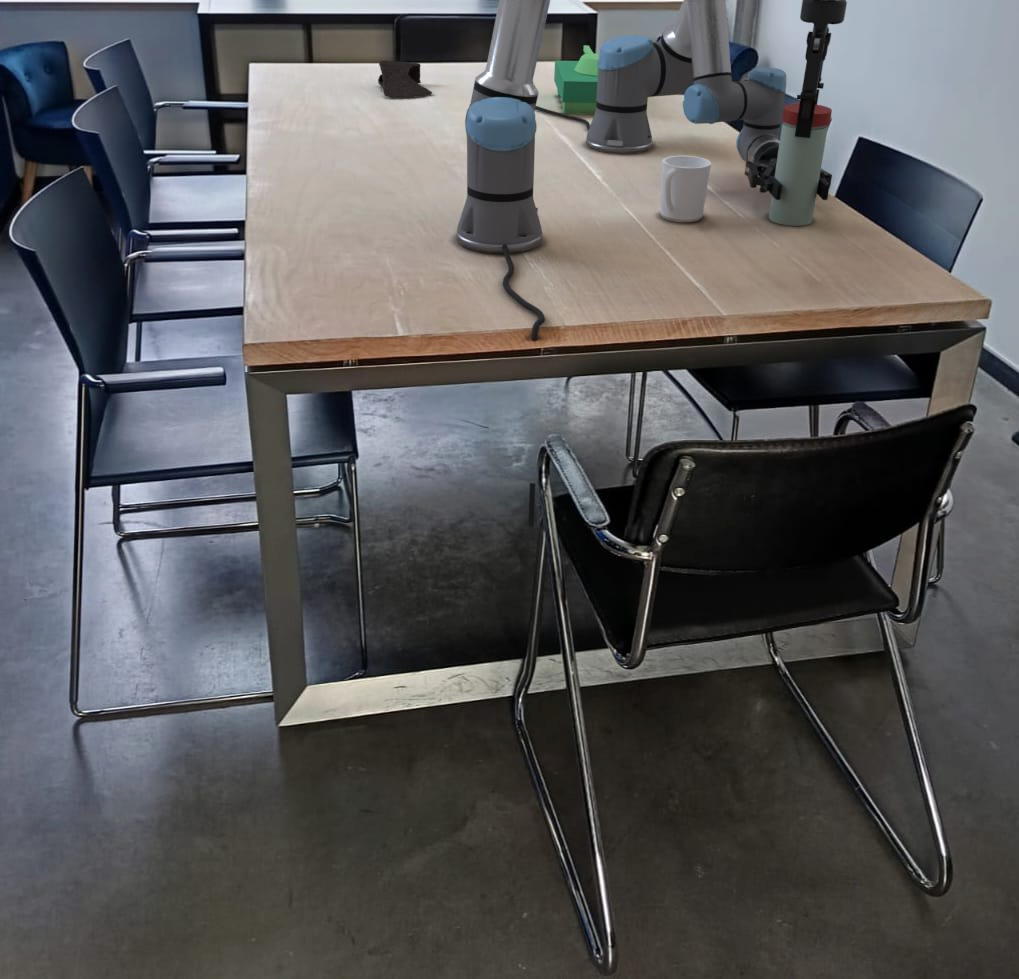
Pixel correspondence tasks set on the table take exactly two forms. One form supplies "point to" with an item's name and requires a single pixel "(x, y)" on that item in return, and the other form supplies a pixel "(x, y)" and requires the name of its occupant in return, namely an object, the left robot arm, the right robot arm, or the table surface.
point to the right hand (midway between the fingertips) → (802, 192)
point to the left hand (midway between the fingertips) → (804, 130)
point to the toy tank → (578, 83)
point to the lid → (819, 118)
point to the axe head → (401, 79)
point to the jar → (797, 175)
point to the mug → (684, 188)
